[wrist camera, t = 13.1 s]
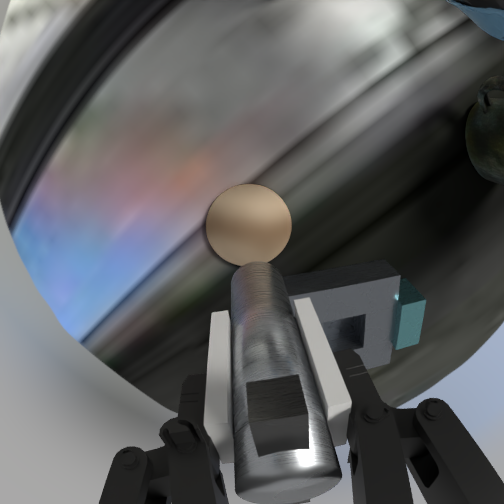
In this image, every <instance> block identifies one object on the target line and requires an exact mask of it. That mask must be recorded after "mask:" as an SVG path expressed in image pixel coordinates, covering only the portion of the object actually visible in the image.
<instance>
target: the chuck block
mask: <svg viewBox="0 0 504 504" xmlns="http://www.w3.org/2000/svg"><path fill="white" fill-rule="evenodd" d="M282 278H283V281H284V284H285V287H286V290H287V293H288V296H289V299H290V302H291V306H292V309H293V312H294V315H295V309H294V300H297V299H303V298H308V297H309V298H310V300H311V302H312V305H313V307H314V310H315V312H316V314H317V317H318V319H319V321H320V324H321V326H322V329H323V331H324V333H325V336H326V338H327V341H328V343H329V346H330V348H331V350H332V353H333V352H338V351H342V350H347V349H352V350H353V351H355V352H356V353H357V354H358V355H360V357H361V359H362V361H363V363H364V366H365V367H366V369H370V368H374V367H377V366H381V365H385V364H388V363H390V357H391V351H392V345H393V346H394V348H395V349H396V350H397V349H401V348H404V347H408V346H411V345H414V344H418V342H419V337H420V332H421V327H422V321H423V316H424V310H425V304H426V299H425V298H424V297H423V296H422V295H421V294H420V293H419V292H418V291H417V290H416V288H415V287H414V286H413V285H412V284H411V283H410V282H409V281H408V280H407V279H406V278H403V279H400V274H399V273H398V272H397V271H396V270H395V269H394V268H393V267H392V266H391V265H390V264H389V263H388V262H387V261H386V260H385V259H381V260H376V261H370V262H365V263H359V264H354V265H348V266H343V267H337V268H331V269H326V270H320V271H314V272H308V273H302V274H296V275H290V276H284V277H282Z"/></svg>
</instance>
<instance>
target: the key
mask: <svg viewBox="0 0 504 504" xmlns="http://www.w3.org/2000/svg"><path fill="white" fill-rule="evenodd" d="M231 328H232V393H233V434H234V470H235V492H236V494H237V495H238V496H239V497H240V498H242V499H244V500H246V501H249V502H253V503H258V504H300V503H306V502H310V499H311V498H314V497H316V496H319V495H321V494H323V493H325V492H327V491H329V490H330V489H332V488H333V487H335V486H336V485H337V484H338V483H339V482H340V480H341V478H342V472H341V468H340V465H339V461H338V458H337V454H336V451H335V447H334V444H333V440H332V437H331V433H330V430H329V427H328V424H327V420H326V417H325V413H324V410H323V407H322V403H321V400H320V397H319V393H318V390H317V387H316V383H315V380H314V377H313V373H312V370H311V367H310V364H309V360H308V357H307V354H306V351H305V347H304V344H303V341H302V338H301V334H300V331H299V328H298V325H297V322H296V319H295V315H294V312H293V309H292V306H291V302H290V299H289V296H288V293H287V290H286V287H285V284H284V281H283V278H282V275H281V273H280V271H279V270H278V269H277V268H276V267H275V266H273V265H271V264H269V263H267V262H262V261H255V262H250V263H247V264H245V265H243V266H242V267H240V268H239V269H238V270H237V271H236V272H235V274H234V276H233V278H232V282H231Z"/></svg>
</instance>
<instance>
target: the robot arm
mask: <svg viewBox="0 0 504 504" xmlns="http://www.w3.org/2000/svg"><path fill="white" fill-rule="evenodd" d="M446 1H447V2H449V3H450V4H453V5H454V6H456V7H458V8H459V9H460V10H461V11H462V12H463V13H464V14H466V15H467V16H468V17H469V18H470V19H471V20H472V21H473V22H474V23H475V24H476V25H478V26H479V27H480V28H481V29H482V30H483V31H485V32H486V33H488V34H489V35H491V36H493V37H495V38H497V39H500V40H503V41H504V0H446ZM294 309H295V319H296V322H297V325H298V328H299V331H300V334H301V338H302V341H303V344H304V347H305V351H306V354H307V357H308V360H309V364H310V367H311V370H312V373H313V377H314V380H315V383H316V387H317V390H318V393H319V397H320V400H321V403H322V407H323V410H324V413H325V417H326V420H327V424H328V427H329V430H330V433H331V437H332V440H333V444H334V447H336V446H340V445H344V444H346V441H347V439H348V442H349V445H350V451H349V456H348V463H350V467H351V476H352V477H351V478H352V489H353V502H354V504H413V498H412V493H411V488H410V482H409V477H408V472H407V468H406V465H407V467H408V468H409V470H410V472H411V474H412V475H413V478H414V479H415V481H416V483H417V485H418V487H419V489H420V491H421V493H422V494H423V496H424V498H425V500H426V502H427V504H504V483H503V481H502V480H501V478H500V477H499V476H498V474H497V472H496V471H495V469H494V468H493V466H492V465H491V464H490V462H489V461H488V459H487V458H486V456H485V455H484V453H483V452H482V451H481V449H480V448H479V446H478V445H477V444H476V442H475V441H474V439H473V438H472V437H471V435H470V434H469V432H468V431H467V430H466V428H465V427H464V425H463V424H462V423H461V421H460V420H459V419H458V417H457V416H456V415H455V414H454V412H453V411H452V409H451V408H450V407H449V405H448V404H447V403H445V402H444V401H443V400H440V399H438V398H429V399H426V400H424V401H422V402H421V403H419V405H418V406H417V408H409V409H396V408H393V407H390V406H389V405H387V404H386V403H384V402H383V401H382V400H381V398H380V396H379V394H378V392H377V390H376V388H375V386H374V384H373V382H372V380H371V378H370V376H369V374H368V373H367V369H366V367H365V366H364V363H363V361H362V359H361V357H360V355H358V354H357V353H356V352H355V351H353V350H352V349H347V350H342V351H338V352H333V353H332V350H331V348H330V346H329V343H328V341H327V338H326V336H325V333H324V331H323V329H322V326H321V324H320V321H319V319H318V317H317V314H316V312H315V310H314V307H313V305H312V302H311V300H310V298H309V297H308V298H303V299H297V300H294ZM159 436H160V437H161V439H162V440H163V442H164V443H165V446H163V447H160V448H158V449H154V450H150V451H146V452H144V451H143V450H142V449H140V448H138V447H126V448H124V449H121V450H120V451H119V452H118V453H117V454H116V455H115V457H114V459H113V462H112V465H111V468H110V471H109V473H108V476H107V480H106V483H105V486H104V489H103V492H102V495H101V498H100V501H99V504H171V502H172V504H229V503H228V498H227V494H226V489H225V484H224V480H223V475H222V473H221V471H220V468H219V467H220V465H219V464H220V460H221V462H222V463H223V464H224V463H234V434H233V393H232V328H231V323H230V319H229V314H228V311H221V312H214V313H212V317H211V329H210V341H209V353H208V366H207V373H204V374H194V375H188V376H187V378H186V379H185V381H184V382H183V384H182V390H181V397H180V404H179V411H178V417H176V418H173V419H170V420H169V421H167V422H166V423H164V425H163V426H162V427H161V429H160V433H159Z"/></svg>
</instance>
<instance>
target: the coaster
mask: <svg viewBox="0 0 504 504" xmlns="http://www.w3.org/2000/svg"><path fill="white" fill-rule="evenodd" d="M206 232H207V237H208V240H209V242H210V244H211V246H212V248H213V249H214V250H215V252H216V253H217V254H218V255H219V256H220V257H222V258H223V259H224V260H226V261H228V262H230V263H233V264H236V265H240V266H243V265H245V264H247V263H250V262H255V261H262V262H268V261H270V260H272V259H273V258H275V257H276V256H277V255H278V254H279V253H280V252H281V251H282V250H283V249H284V247H285V246H286V244H287V242H288V240H289V237H290V233H291V217H290V213H289V210H288V208H287V206H286V204H285V203H284V201H283V200H282V199H281V198H280V197H279V195H277V194H276V193H275V192H274V191H272V190H271V189H269V188H267V187H264V186H261V185H257V184H241V185H237V186H234V187H231V188H229V189H227V190H226V191H224V192H223V193H221V194H220V195H219V196H218V197H217V198H216V200H215V201H214V202H213V204H212V205H211V207H210V210H209V212H208V216H207V220H206Z"/></svg>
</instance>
